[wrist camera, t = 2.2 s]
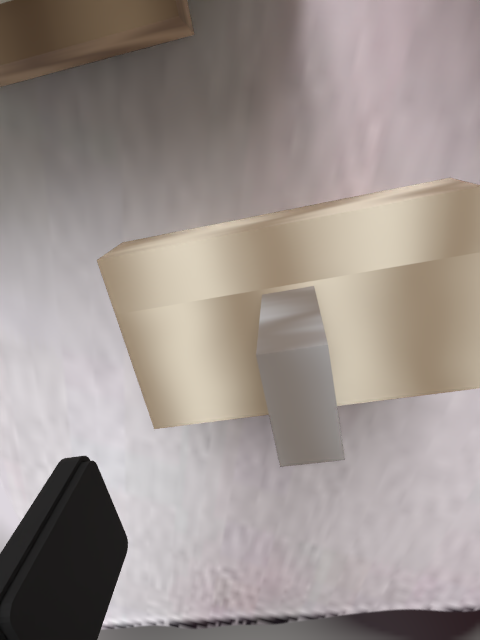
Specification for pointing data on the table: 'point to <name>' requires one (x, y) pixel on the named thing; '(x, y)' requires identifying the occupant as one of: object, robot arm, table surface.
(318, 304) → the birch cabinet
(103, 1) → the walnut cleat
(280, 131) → the table surface
